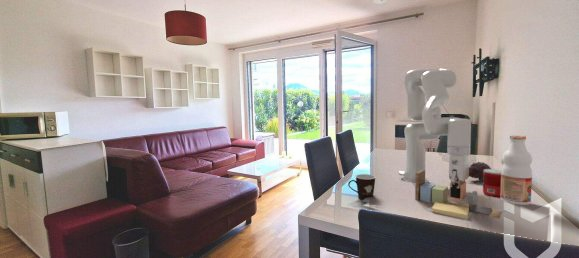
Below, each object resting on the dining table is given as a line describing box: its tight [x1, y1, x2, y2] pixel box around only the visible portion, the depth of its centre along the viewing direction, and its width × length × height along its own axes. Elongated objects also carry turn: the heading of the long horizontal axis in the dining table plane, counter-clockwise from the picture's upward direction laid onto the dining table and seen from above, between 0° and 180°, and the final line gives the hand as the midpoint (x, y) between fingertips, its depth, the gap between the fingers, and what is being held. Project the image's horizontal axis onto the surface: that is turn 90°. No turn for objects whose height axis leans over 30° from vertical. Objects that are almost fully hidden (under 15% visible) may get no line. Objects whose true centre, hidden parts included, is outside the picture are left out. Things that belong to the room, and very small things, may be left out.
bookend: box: [468, 190, 493, 217], centre depth 97 cm, size 6×7×6 cm
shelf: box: [414, 169, 503, 219], centre depth 102 cm, size 28×8×13 cm, turn 44°
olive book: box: [431, 184, 449, 204], centre depth 107 cm, size 4×6×6 cm, turn 134°
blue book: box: [420, 182, 437, 203], centre depth 110 cm, size 4×6×6 cm, turn 134°
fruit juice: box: [499, 135, 533, 206], centre depth 105 cm, size 9×9×28 cm
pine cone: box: [468, 161, 492, 182], centre depth 138 cm, size 18×10×10 cm, turn 89°
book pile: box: [426, 202, 474, 221], centre depth 97 cm, size 13×9×3 cm
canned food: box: [482, 168, 502, 198], centre depth 117 cm, size 8×8×11 cm
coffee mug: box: [347, 173, 376, 201], centre depth 118 cm, size 12×9×10 cm
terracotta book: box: [449, 180, 467, 202], centre depth 102 cm, size 4×6×6 cm, turn 134°
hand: (457, 194), depth 102 cm, fingers closed on terracotta book, 6 cm apart
